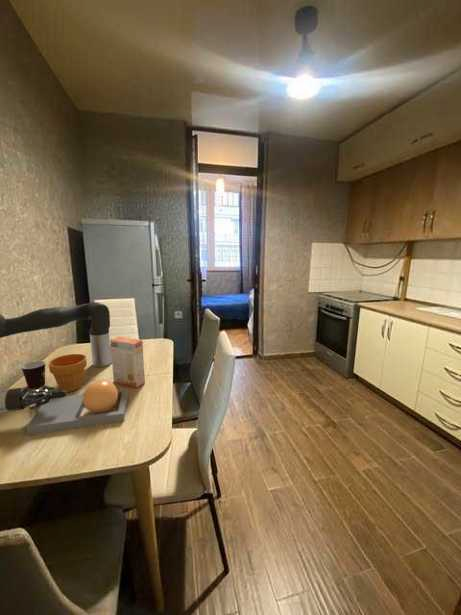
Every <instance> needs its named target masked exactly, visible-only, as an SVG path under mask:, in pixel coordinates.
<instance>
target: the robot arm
mask: <svg viewBox="0 0 461 615" xmlns="http://www.w3.org/2000/svg"><path fill="white" fill-rule="evenodd" d="M109 309H110V308H109V307H108V306H107V305H106V304H104V303H100V302H97V301H93V302H88V303H87V302H86V303H84V304H79V305H78V304H77V305H74V306H58V307H48V308H41V309H37V310H34V311H32V312H28V313H25V314H23V315H20V316H16V317H12V318H11V317H10V318H5V317H4V315H3V314H2V313H0V339H1V338H4V337H9V336H13V335H17V334H21V333H29V332H34V331H35V332H36V331H39V330H48V329H54V328H58V327H63V326H65V325H68V324H71V323H72V322H75V321H82V320H90V321H91V327H90V328H89V331H88V332H89V341H90V350H91V359H92V366H94V367H95V368H101V367H102V368H103V367H107V366H109V365H111V364H112V354H111V342H110V340H111V338H110V326H111V315H110V310H109ZM66 395H67V392H66V390H60V389H58V390H55V388H54V387H52V386H48V385H46V384H45V385H43V386H41V387H40V388H36V389H30V390H29V388H28V387H24V386H23V387H15V388H6V389H0V413H7V412H14V411H23V410H25V409H26V408H27V407H29V409H30V410H33V409H35V408H39V407H41V406H42V405H43V404H46V403H48V402H50V401H49V400H52V399H53V398H61V397H65V396H66Z"/></svg>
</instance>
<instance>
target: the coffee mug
mask: <svg viewBox="0 0 461 615" xmlns="http://www.w3.org/2000/svg"><path fill="white" fill-rule="evenodd" d="M21 370H22V374H23V377H24V379H25V383H26V385H27V389H28V390H29V389H30V390H34V389H41V386H43V385H46V362H45V361H44V360H35V361H30V362H26V363H24V364H22V365H21Z"/></svg>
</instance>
